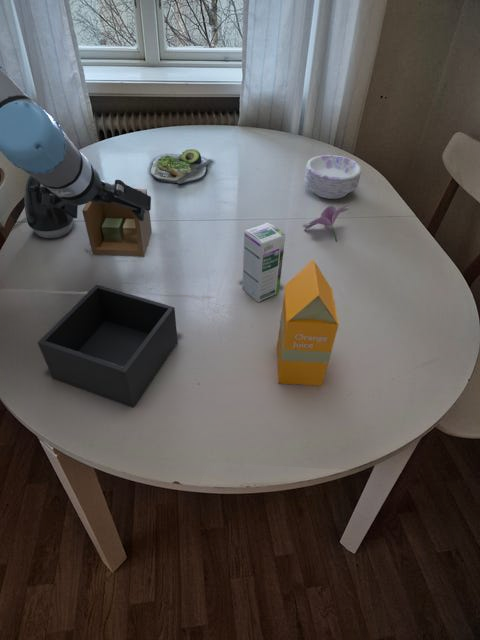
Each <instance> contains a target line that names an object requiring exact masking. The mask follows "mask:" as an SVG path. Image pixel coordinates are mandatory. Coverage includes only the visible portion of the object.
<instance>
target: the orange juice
mask: <svg viewBox="0 0 480 640" xmlns="http://www.w3.org/2000/svg"><path fill="white" fill-rule="evenodd" d="M339 326H340V324H339V319H338V315H337V308H336V303H335V299H334V292H333V287H331V285H330V284H329V282H328V281H327V279H326V277H325V276H324V275H323V273H322V271H321V269H320V268H319V266H318V265H317V263H316V261H315V258H313V259H312V260H311V261H310V262H308V263H307V264H306V266H304V267H303V268H302V269H300V271H299V272H298V273H296V274H295V276H293V277H292V278H291V279H290V280H289V281H288V282H287V283H286V284H284V294H283V301H282V308H281V313H280V320H279V328H278V329H279V330H278V337H277V343H276V354H278V361H277V384H278V383H282V384H281V385H296V384H300V386H315V387H317V386H318V387H322V386H323V383H324V380H325V377H326V373H327V369H328V365H329V363H330V360H331V355H332V350H333V347H334V343H335V339H336V336H337V332H338V328H339ZM316 385H317V386H316Z"/></svg>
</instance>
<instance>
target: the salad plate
mask: <svg viewBox="0 0 480 640" xmlns="http://www.w3.org/2000/svg"><path fill="white" fill-rule="evenodd" d="M212 162H213V160H212V159H208V160H207V159H205V158H204V157H202V155H201V153H200V151H198V150H197V149H186V150H184V151H182V152H181V154H179V155H177V154H163V155H161V156H158V157H156V158H155V159H154V160H153V163H152V166H151V168H150V174H151V176H152V177H154V178H155V179H157V180H159V181H161V182H163V183H166V184H167V183H169V184H178V185H179V184H186V183H189V182H193V181H196V180H199V179H202V178H203V177H204V176H205V174H206V171H207V168H208V166H209V165H210V164H211V163H212ZM162 171H165V172H166V173H165V174H166V175H168V176H167V177H166V176H163V174H162Z"/></svg>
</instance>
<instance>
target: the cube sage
mask: <svg viewBox="0 0 480 640" xmlns="http://www.w3.org/2000/svg"><path fill="white" fill-rule="evenodd" d="M123 225H124V224H123V219H120V218H105V221H104V223H103V225H102V231H103V236H104V241H105V242H122V240H123V237H124V233H123Z"/></svg>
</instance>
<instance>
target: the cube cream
mask: <svg viewBox="0 0 480 640" xmlns="http://www.w3.org/2000/svg"><path fill="white" fill-rule="evenodd" d="M123 233H124V238H125V242H128V243H138V240H137V234H136V227H135V220H134V219H126V220H125V223H124V225H123Z"/></svg>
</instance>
